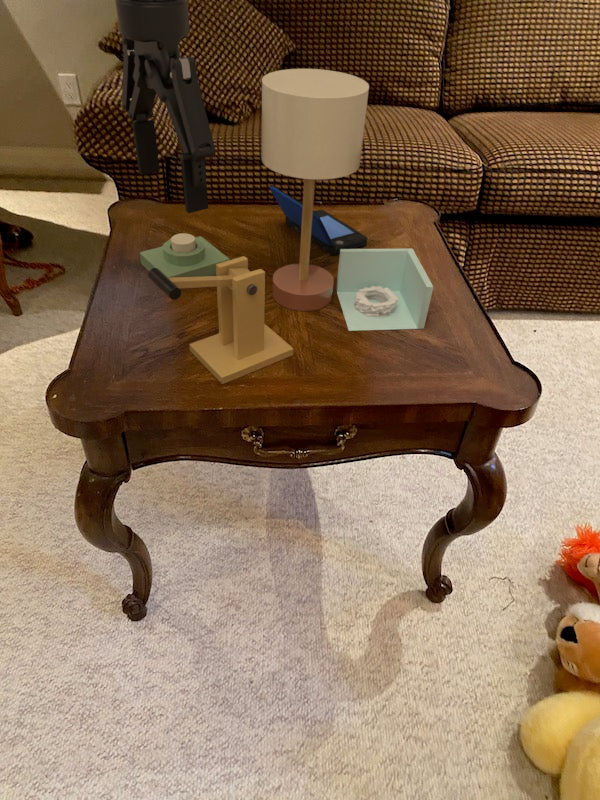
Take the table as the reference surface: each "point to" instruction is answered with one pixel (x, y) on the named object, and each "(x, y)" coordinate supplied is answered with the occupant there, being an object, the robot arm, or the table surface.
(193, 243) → the button
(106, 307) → the table surface
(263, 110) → the lamp
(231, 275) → the lamp lever
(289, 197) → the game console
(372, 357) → the table surface
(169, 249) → the switch box
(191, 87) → the robot arm
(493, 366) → the table surface
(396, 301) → the right angle wall
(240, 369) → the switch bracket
